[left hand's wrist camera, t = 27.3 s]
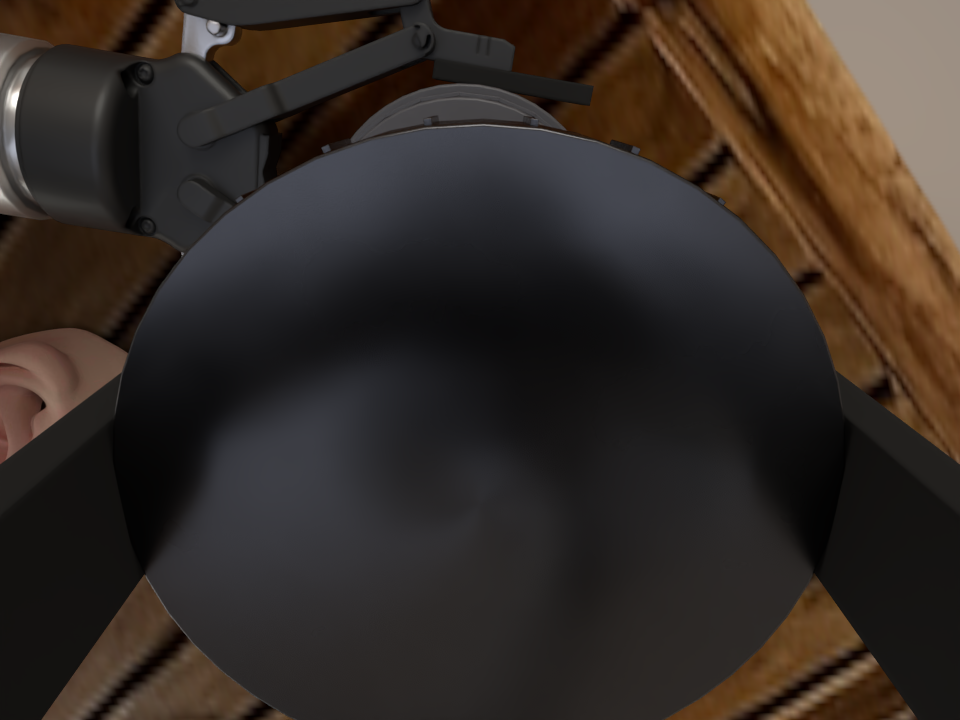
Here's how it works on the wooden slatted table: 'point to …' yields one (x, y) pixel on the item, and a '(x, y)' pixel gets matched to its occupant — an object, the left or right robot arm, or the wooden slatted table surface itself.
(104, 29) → the wooden slatted table surface
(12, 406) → the anatomical model
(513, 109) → the jar
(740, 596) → the lid
